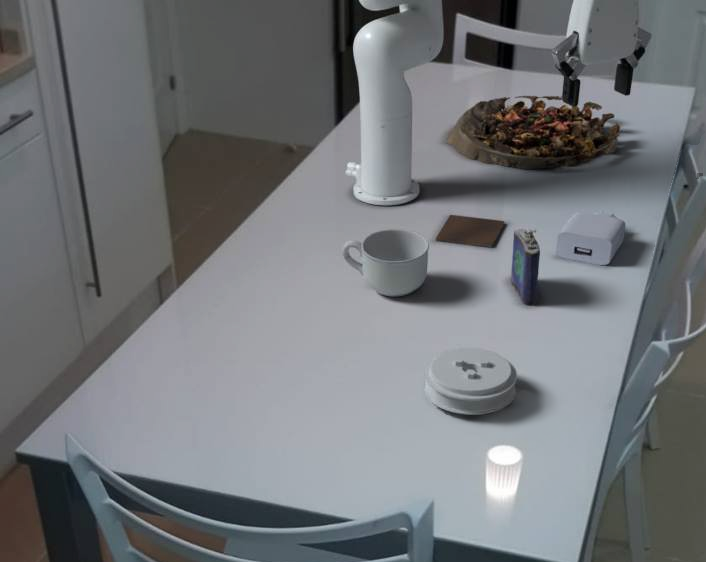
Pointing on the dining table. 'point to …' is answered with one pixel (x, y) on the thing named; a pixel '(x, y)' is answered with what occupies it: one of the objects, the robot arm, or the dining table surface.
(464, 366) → the lid
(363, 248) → the teacup
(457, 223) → the board
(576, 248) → the charger
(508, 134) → the food dish
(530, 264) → the dark blue piece
